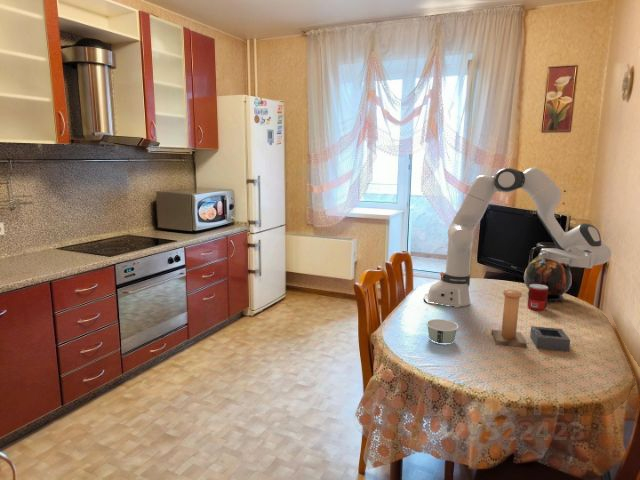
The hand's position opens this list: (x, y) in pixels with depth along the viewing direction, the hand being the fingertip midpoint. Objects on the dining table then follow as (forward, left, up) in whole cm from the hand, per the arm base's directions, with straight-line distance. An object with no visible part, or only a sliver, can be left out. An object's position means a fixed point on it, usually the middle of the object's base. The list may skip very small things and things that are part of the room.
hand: (548, 258), depth 178 cm
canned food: (+4, +25, -30) cm, 40 cm away
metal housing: (-1, -18, -30) cm, 35 cm away
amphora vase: (+12, +43, -30) cm, 54 cm away
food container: (-41, -25, -30) cm, 57 cm away
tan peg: (-16, -17, -28) cm, 37 cm away
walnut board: (-16, -18, -30) cm, 38 cm away
